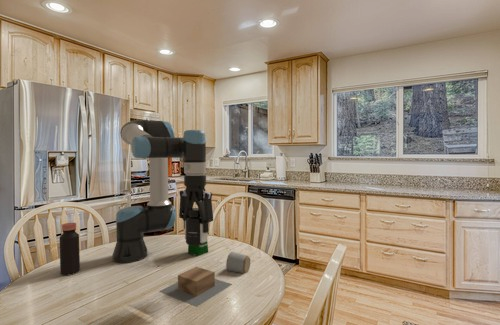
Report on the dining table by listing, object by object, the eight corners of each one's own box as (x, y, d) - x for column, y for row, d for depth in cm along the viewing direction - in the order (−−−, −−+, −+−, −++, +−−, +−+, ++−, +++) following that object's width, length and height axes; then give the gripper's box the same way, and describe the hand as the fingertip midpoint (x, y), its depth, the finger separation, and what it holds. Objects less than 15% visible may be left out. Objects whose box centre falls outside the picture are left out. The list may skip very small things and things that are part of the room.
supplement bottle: (188, 247, 95) (188, 211, 94) (183, 241, 101) (183, 208, 100) (208, 244, 98) (208, 209, 97) (202, 239, 104) (201, 206, 104)
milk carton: (198, 248, 145) (198, 209, 144) (211, 251, 139) (210, 211, 139) (185, 253, 138) (184, 212, 137) (198, 257, 132) (197, 214, 132)
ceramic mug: (244, 277, 110) (244, 257, 110) (225, 274, 113) (225, 255, 113) (254, 267, 120) (254, 249, 120) (236, 265, 123) (236, 247, 123)
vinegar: (56, 273, 115) (55, 224, 114) (73, 267, 121) (72, 221, 120) (66, 277, 112) (65, 226, 111) (83, 270, 118) (82, 223, 117)
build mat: (159, 294, 97) (158, 291, 97) (196, 275, 112) (196, 272, 112) (196, 309, 87) (196, 306, 87) (232, 286, 102) (232, 284, 102)
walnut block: (177, 289, 98) (177, 275, 98) (196, 279, 106) (196, 266, 106) (196, 296, 93) (196, 281, 93) (214, 285, 101) (214, 272, 101)
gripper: (167, 174, 101) (168, 238, 102) (209, 176, 90) (209, 247, 91) (183, 173, 107) (184, 233, 108) (223, 174, 96) (224, 241, 97)
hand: (195, 239), depth 99 cm, fingers closed on supplement bottle, 7 cm apart
